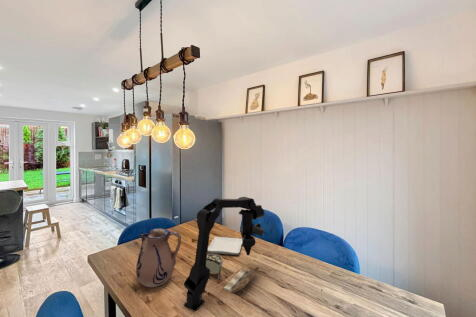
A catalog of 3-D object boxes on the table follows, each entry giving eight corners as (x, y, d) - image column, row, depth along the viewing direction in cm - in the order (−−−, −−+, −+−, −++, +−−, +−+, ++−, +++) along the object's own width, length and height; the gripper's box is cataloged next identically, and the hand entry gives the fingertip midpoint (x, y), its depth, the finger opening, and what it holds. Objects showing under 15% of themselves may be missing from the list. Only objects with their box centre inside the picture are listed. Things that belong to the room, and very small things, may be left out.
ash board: (231, 292, 100) (231, 289, 100) (223, 289, 102) (223, 287, 102) (248, 273, 116) (248, 270, 116) (241, 271, 118) (241, 268, 118)
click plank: (243, 287, 97) (242, 284, 97) (233, 293, 100) (231, 290, 100) (259, 268, 113) (258, 265, 113) (250, 273, 116) (248, 271, 116)
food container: (227, 275, 114) (227, 256, 114) (220, 281, 109) (220, 262, 108) (208, 268, 120) (208, 251, 120) (201, 274, 115) (201, 255, 115)
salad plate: (239, 257, 133) (239, 252, 133) (205, 255, 137) (205, 249, 136) (243, 243, 154) (243, 238, 154) (214, 241, 157) (214, 236, 157)
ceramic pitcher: (137, 275, 113) (137, 228, 112) (179, 268, 121) (179, 223, 120) (134, 297, 97) (133, 242, 96) (183, 286, 105) (182, 235, 103)
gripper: (265, 227, 104) (265, 259, 104) (260, 215, 122) (259, 242, 123) (242, 228, 103) (242, 260, 104) (240, 215, 122) (240, 243, 122)
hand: (247, 250), depth 113 cm, fingers open, 9 cm apart
